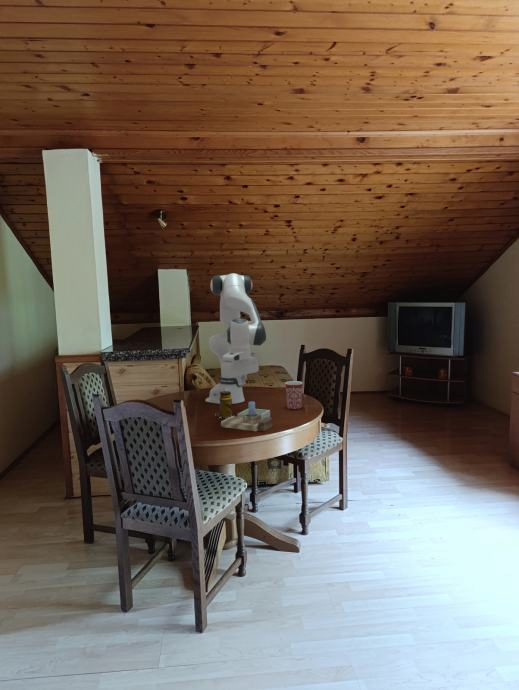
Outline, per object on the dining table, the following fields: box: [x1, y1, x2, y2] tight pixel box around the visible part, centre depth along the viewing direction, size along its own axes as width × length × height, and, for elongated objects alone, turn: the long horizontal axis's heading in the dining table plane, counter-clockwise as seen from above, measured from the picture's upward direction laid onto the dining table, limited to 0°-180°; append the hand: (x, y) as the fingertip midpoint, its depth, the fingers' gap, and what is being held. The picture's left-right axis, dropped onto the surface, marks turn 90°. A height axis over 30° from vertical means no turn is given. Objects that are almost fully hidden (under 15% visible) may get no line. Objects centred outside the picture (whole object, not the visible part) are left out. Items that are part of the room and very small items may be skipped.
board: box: [220, 413, 263, 432], centre depth 210 cm, size 18×10×6 cm, turn 63°
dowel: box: [247, 401, 256, 417], centre depth 207 cm, size 3×3×9 cm
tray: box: [236, 408, 271, 419], centre depth 220 cm, size 12×12×4 cm
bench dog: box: [257, 417, 273, 432], centre depth 205 cm, size 3×8×4 cm, turn 153°
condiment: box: [214, 391, 233, 419], centre depth 228 cm, size 7×8×12 cm
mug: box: [284, 380, 303, 410], centre depth 241 cm, size 13×9×14 cm
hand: (241, 385), depth 207 cm, fingers closed
